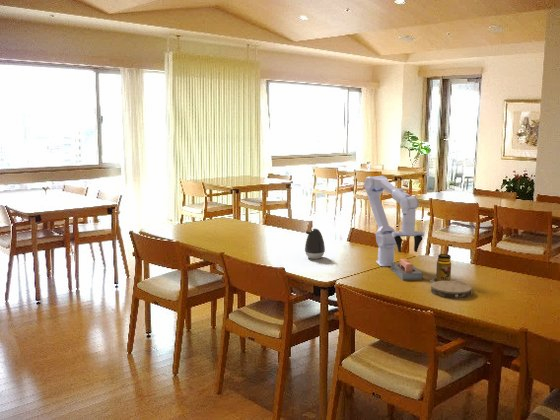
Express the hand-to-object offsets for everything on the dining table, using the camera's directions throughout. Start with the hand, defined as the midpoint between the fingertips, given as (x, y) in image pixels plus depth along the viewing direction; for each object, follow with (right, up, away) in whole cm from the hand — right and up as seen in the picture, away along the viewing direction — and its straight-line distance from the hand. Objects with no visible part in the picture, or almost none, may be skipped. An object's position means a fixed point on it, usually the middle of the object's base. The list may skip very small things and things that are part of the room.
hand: (407, 251), depth 261 cm
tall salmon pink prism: (-2, -10, -3) cm, 11 cm away
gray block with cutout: (-1, -10, -4) cm, 11 cm away
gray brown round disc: (+11, -15, -30) cm, 35 cm away
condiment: (+12, -12, -14) cm, 22 cm away
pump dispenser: (-41, -5, +27) cm, 50 cm away
